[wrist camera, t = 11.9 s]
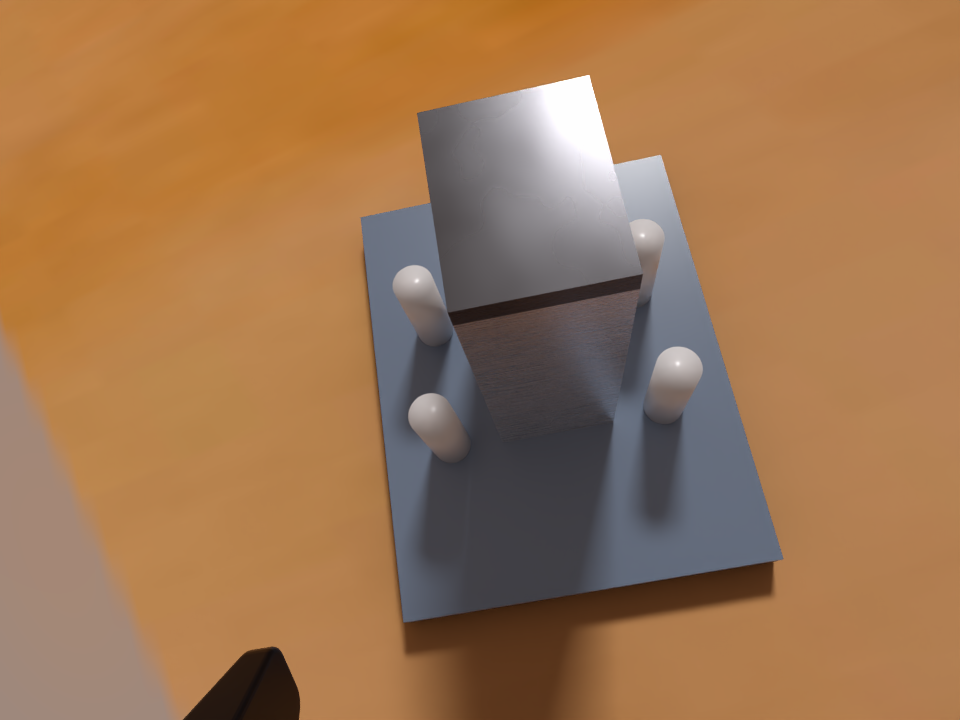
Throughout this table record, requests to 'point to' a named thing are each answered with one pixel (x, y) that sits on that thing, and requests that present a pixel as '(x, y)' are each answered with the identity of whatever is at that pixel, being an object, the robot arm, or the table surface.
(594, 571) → the grey pegged base
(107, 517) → the table surface
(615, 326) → the plate
